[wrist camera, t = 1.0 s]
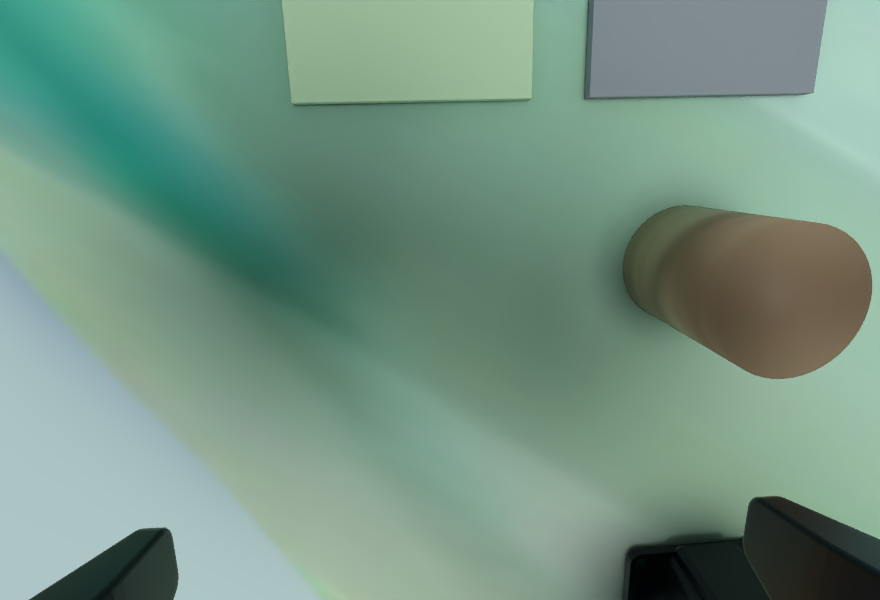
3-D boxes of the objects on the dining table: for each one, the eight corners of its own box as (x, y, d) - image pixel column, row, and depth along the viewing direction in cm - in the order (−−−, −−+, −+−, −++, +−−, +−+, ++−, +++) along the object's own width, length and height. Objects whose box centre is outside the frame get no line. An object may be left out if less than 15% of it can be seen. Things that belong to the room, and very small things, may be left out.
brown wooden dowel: (726, 315, 20) (856, 374, 15) (619, 320, 20) (707, 383, 14) (740, 203, 19) (886, 219, 13) (626, 207, 19) (725, 225, 13)
